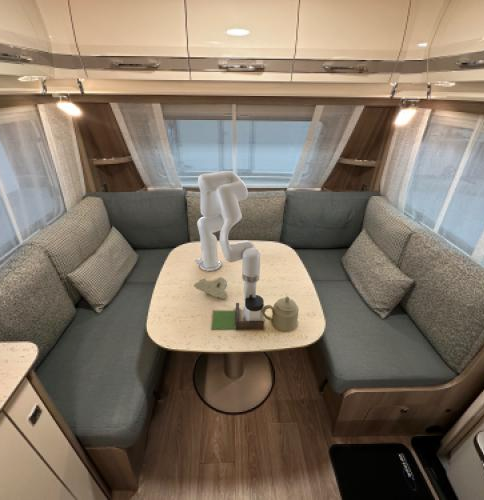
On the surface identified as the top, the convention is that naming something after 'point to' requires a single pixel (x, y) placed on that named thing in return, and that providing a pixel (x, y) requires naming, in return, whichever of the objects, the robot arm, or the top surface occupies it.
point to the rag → (223, 320)
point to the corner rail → (247, 323)
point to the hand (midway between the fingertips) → (249, 306)
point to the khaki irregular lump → (213, 287)
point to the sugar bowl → (283, 314)
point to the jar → (254, 309)
